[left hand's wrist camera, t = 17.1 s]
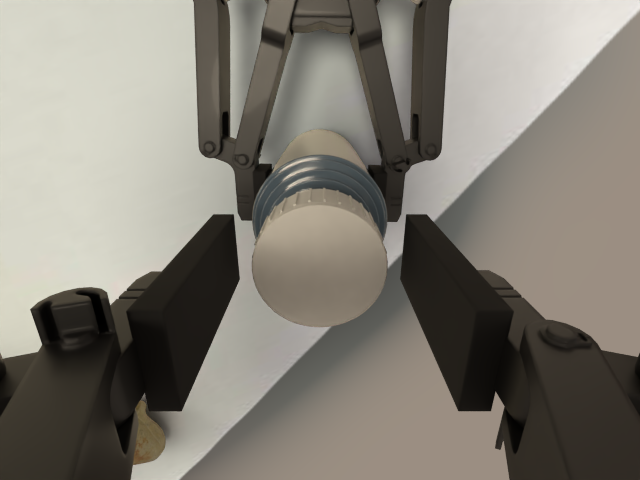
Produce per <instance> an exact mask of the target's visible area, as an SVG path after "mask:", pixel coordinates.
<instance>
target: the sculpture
mask: <svg viewBox="0 0 640 480" xmlns="http://www.w3.org/2000/svg"><path fill="white" fill-rule="evenodd" d="M146 407H147V405H146V403H145V402H144V401H139V403H138V405H137V406H136V411H137V415H138V422H139V426H138V432H137V439H136V446H135V453H134V459H133V465H136V464H141V463H146V462H150V461H153V460H155V459H157V458H158V457H159V456H160V454H161V453H162V452H163V450H164V448H165V435H164V433H163V430H162V429H161V427H160V426H159V425H158V424H157V423H156V422H155V421H153V420H152V419H151V418H150V417H148V416H147V414H146V411H145V410H146Z"/></svg>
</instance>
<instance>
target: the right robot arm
mask: <svg viewBox="0 0 640 480" xmlns="http://www.w3.org/2000/svg"><path fill="white" fill-rule="evenodd" d="M193 1H194V18H195V48H196V79H197V109H198V139H199V150H200V152H201V153H202V155H204V156H205V157H208V158H216V159H219V160H221V161H224V162H226V163H228V164H229V165H231V167H232V168H233V170H234V172H235V181H236V194H237V208H238V214H239V216H240V218H241V220H251V221H252V215H253V207H254V203H255V199H256V196H257V194H258V192H259V190H260V188H261V186H262V185H263V183H264V182H265V180H266V179H267V177H268V176H269V174H270V173H271V171H272V164H259V158H260V156H261V154H260V153H261V149H262V145H263V142H264V138H265V134H266V131H267V127H268V124H269V120H270V116H271V113H272V109H273V105H274V102H275V98H276V95H277V91H278V87H279V84H280V80H281V76H282V73H283V69H284V66H285V62H286V58H287V55H288V52H289V50H290V47H291V44H292V40H293V36H294V33H308V32H312V31H315V30H318V29H325V30H328V31H331V32H334V33H349V37H350V41H351V45H352V48H353V51H354V53H355V57H356V61H357V64H358V68H359V72H360V76H361V80H362V84H363V88H364V92H365V96H366V100H367V104H368V108H369V112H370V116H371V120H372V124H373V128H374V132H375V136H376V140H377V144H378V148H379V152H380V156H381V159H382V161H381V165H368V171H369V173H370V175H371V176H372V178H373V179H374V181H375V182H376V184H377V185H378V187H379V189H380V191H381V193H382V195H383V198H384V200H385V204H386V209H387V222H397V221H398V219H399V217H400V215H401V210H402V198H403V189H404V179H405V173H406V172H407V171H408V170H409V169H410V167H411V166H412V165H414V164H416V163H419V162H422V161H425V160H434V159H436V158H437V157H438V156H439V155H440V153H441V149H442V131H443V113H444V95H445V78H446V60H447V42H448V24H449V6H450V4H451V1H452V0H411V1H412V2H413V3H415V4H417V5H416V9H415V14H414V21H413V46H412V87H411V127H410V139H409V140H406V141H404V137H403V132H402V128H401V123H400V119H399V114H398V110H397V105H396V101H395V97H394V92H393V88H392V83H391V79H390V74H389V70H388V65H387V61H386V56H385V52H384V47H383V43H382V30H381V25H380V21H379V16H378V12H377V7H376V6H377V4H378V3H379V1H380V0H265V1H266V3H267V4H268V6H267V10H266V14H265V18H264V22H263V27H262V33H261V42H260V46H259V50H258V54H257V58H256V62H255V66H254V70H253V74H252V78H251V82H250V86H249V90H248V94H247V98H246V103H245V107H244V111H243V115H242V119H241V123H240V127H239V131H238V135H237V139H234V138H231V137H230V16H229V9H228V4H227V1H229V0H193Z"/></svg>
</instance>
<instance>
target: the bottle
mask: <svg viewBox="0 0 640 480" xmlns="http://www.w3.org/2000/svg"><path fill="white" fill-rule="evenodd" d="M310 188H312V189H323V188H325V189H329V190H334V191H337V190H339V192H341V193H344V194H346V195H348V196H349V195H350V196H351V197H352V198H353V199H355V200H356V201H357V202H359V203H362V205H363V207H364V208H365V209H366V211H367V212H368V213H369V212H370V213H371V216H372V218H373V220H374V223H376V224H377V227H378V229H379V231H380V234H381V236H382V238H383V240H384V236H385V233H386V228H387V209H386V204H385V200H384V198H383V195H382V193H381V191H380V189H379V187H378V185H377V184H376V182H375V181H374V179H373V178H372V176H371V175H370V173H369V171H368V170H367V168H366V167H365V165H364V164H363V162H362V161H361V159H360V158H359V156H358V154H357V153H356V151H355V150H354V148H353V147H352V145H351V144H350V143H349V142H348V141H347V140H346V139H345V138H344V137H342V136H341V135H339V134H337V133H335V132H333V131H329V130H323V129H316V130H310V131H307V132H304V133H302V134H300V135H299V136H297V137H296V138H295V139H294V140H292V142H291V143H290V144H289V145H288V147H287V148H286V150H285V151H284V153H283V154H282V156H281V157H280V159H279V160H278V162H277V163H276V165H275V166H274V168H273V170H272V171H271V173H270V174H269V176H268V177H267V179H266V180H265V182H264V183H263V185H262V186H261V188H260V190H259V192H258V194H257V196H256V199H255V203H254V207H253V215H252V223H253V230H254V234H255V238H256V240H257V237H258V235H259V233H260V231H261V228H262V226H263V224H264V222H265V220H266V217H267V216H270V214H271V212H272V211H273V209H274V207H275V206H278V205H279V204H280V203H281V202H282V201H283V200H284V198H288V197H290V196H292V195H294V194H296V192H302V191H305V190H309V189H310ZM382 242H383V241H382Z"/></svg>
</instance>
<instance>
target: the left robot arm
mask: <svg viewBox="0 0 640 480" xmlns="http://www.w3.org/2000/svg"><path fill="white" fill-rule="evenodd" d="M400 279H401V282H402V284H403V286H404V289H405V291H406V293H407V295H408V298H409V300H410V302H411V304H412V307H413V309H414V311H415V314H416V316H417V318H418V320H419V323H420V325H421V327H422V330H423V332H424V334H425V336H426V339H427V341H428V343H429V345H430V348H431V350H432V352H433V354H434V357H435V359H436V361H437V364H438V366H439V368H440V370H441V373H442V375H443V377H444V379H445V382H446V384H447V386H448V388H449V391H450V393H451V395H452V398H453V400H454V402H455V404H456V407H457V409H458V411H491V408H492V404H493V400H494V396H495V391H496V393H497V394H498V396H499V398H500V399H501V401H502V403H503V404H504V406H505V407H504V411H503V415H502V420H501V424H500V428H499V432H498V436H497V440H496V446H495V448H496V449H499V450H500V449H501V446H502V442H503V441H504V445H505V451H506V458H507V465H508V472H509V479H510V480H640V354H639V356H638V357H634V356H629V355H624V354H618V353H613V352H608V351H602V350H601V349H600V347H599V346H598V344H597V343H596V342H595V341H594V340H593V339H592V337H591V336H589V335H588V334H586V333H584V332H583V331H581V330H580V329H578V328H575V327H573V326H570V325H568V324H565V323H561V322H557V321H553V320H546V319H544V317H542V316H541V315H540V314H539V313H538V312H537V311H536V310H535V309H534V308H533V307H532V306H531V305H530V304H529V303H528V302H527V301H526V300H525V299H524V298H522V297H521V295H520V294H519V293H518V292H517V291H516V290H514V289H513V287H512V286H511V285H510V284H509V283H508V282H507V281H506V280H505V279H504V278H502V277H500V276H498V275H497V274H495V273H493V272H491V271H489V270H476V269H475V268H474V266H473V265H472V264H471V263H470V262H469V261H468V260H467V259H466V258H465V256H464V255H463V254H462V253H461V252H460V251H459V250H458V249H457V248H456V247H455V245H454V244H453V243H452V242H451V241H450V240H449V239H448V238H447V237H446V235H445V234H444V233H443V232H442V231H441V230H440V229H439V228H438V227H437V226H436V224H435V223H434V222H433V221H432V220H431V219H430V218H429V217H428V216H427V214H406V223H405V234H404V245H403V256H402V266H401V277H400ZM239 280H240V277H239V266H238V256H237V245H236V234H235V223H234V214H213V216H212V217H211V218H210V219H209V220H208V221H207V222H206V223H205V224H204V226H203V227H202V228H201V229H200V230H199V231H198V232H197V233H196V234H195V235H194V237H193V238H192V239H191V240H190V241H189V242H188V243H187V244H186V245H185V247H184V248H183V249H182V250H181V251H180V252H179V253H178V254H177V255H176V256H175V258H174V259H173V260H172V261H171V262H170V263H169V264H168V265H167V266H166V268H165V269H164V270H163V271H162V272H150V273H148V274H146V275H144V276H142V277H140V278H139V279H137V280H136V281H135V282H134V283H133V284H132V285H131V286H130V287H129V288H128V289H127V291H125V292H124V293H122V294H121V295H120V296H119V299H116V300H115V301H114V302H113V303H112V304H111V305H110V303H109V299H108V295H107V292H105V291H104V290H102V289H99V288H93V287H88V288H77V289H72V290H67V291H63V292H60V293H57V294H55V295H52V296H49V297H47V298H46V299H44V300H42V301H40V302H38V303H37V304H36V305H35V306H34V307H33V308H31V309H30V310H31V313H32V316H33V319H34V322H35V325H36V327H37V330H38V333H39V336H40V339H41V342H42V346H41V348H40V350H39V351H38V352H36V353H31V354H26V355H20V356H15V357H10V358H5V359H2V356H1V354H0V480H131V473H132V466H133V459H134V453H135V446H136V439H137V432H138V426H139V422H138V415H137V411H136V406H137V405H138V403H139V401H140V400H141V398H142V396H143V394H144V393H145V395H146V400H147V404H148V408H149V411H182V409H183V407H184V404H185V402H186V400H187V398H188V395H189V393H190V391H191V389H192V386H193V384H194V382H195V379H196V377H197V375H198V373H199V370H200V368H201V366H202V364H203V361H204V359H205V357H206V354H207V352H208V350H209V348H210V345H211V343H212V341H213V339H214V336H215V334H216V332H217V330H218V327H219V325H220V323H221V320H222V318H223V316H224V314H225V311H226V309H227V307H228V305H229V302H230V300H231V298H232V295H233V293H234V291H235V289H236V286H237V284H238V282H239Z"/></svg>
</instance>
